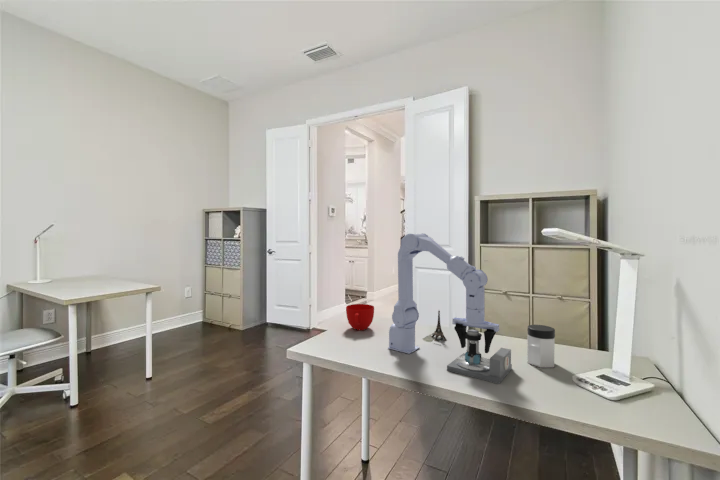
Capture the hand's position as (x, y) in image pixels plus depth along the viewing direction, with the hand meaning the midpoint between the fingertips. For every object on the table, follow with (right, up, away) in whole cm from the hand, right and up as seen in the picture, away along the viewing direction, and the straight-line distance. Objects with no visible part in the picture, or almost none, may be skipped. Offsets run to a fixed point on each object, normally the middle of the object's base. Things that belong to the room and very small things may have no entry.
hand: (474, 349), depth 109 cm
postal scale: (+1, -6, -1) cm, 6 cm away
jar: (+24, -6, +4) cm, 25 cm away
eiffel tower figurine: (-5, -6, +31) cm, 32 cm away
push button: (0, -4, 0) cm, 4 cm away
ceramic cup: (-38, -6, +44) cm, 58 cm away
